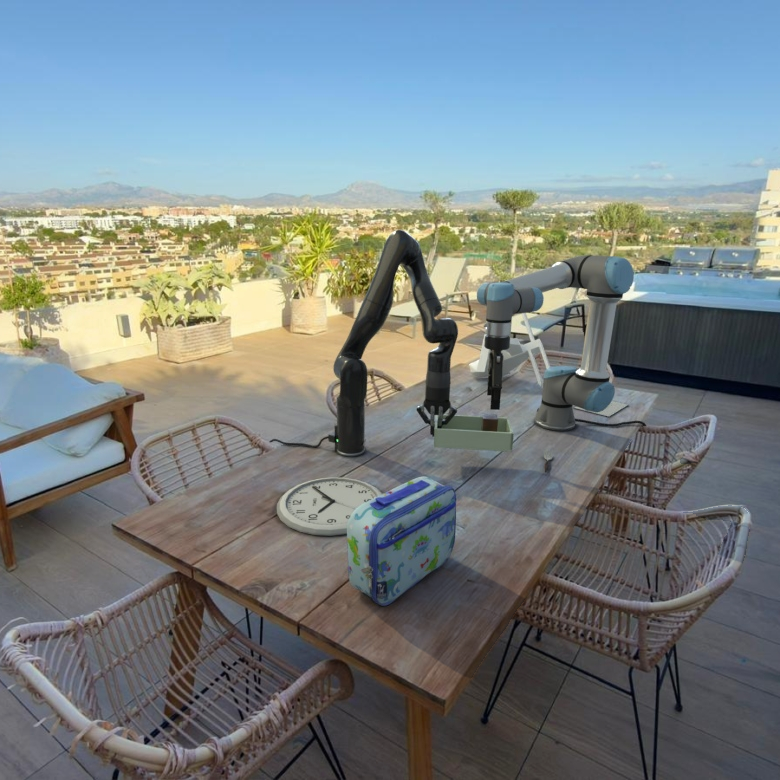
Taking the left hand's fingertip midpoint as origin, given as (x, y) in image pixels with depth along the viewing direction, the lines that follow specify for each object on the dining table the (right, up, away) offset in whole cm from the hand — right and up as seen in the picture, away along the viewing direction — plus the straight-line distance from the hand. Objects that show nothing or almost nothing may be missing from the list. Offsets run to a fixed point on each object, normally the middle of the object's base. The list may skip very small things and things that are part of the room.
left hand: (435, 435), depth 166 cm
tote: (+11, -2, -1) cm, 11 cm away
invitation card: (+77, +7, +60) cm, 98 cm away
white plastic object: (+43, +17, +90) cm, 101 cm away
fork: (+37, -10, +4) cm, 38 cm away
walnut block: (+16, -1, -2) cm, 17 cm away
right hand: (+18, +11, -2) cm, 21 cm away
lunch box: (-12, -26, -52) cm, 59 cm away
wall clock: (-30, -17, -23) cm, 42 cm away
